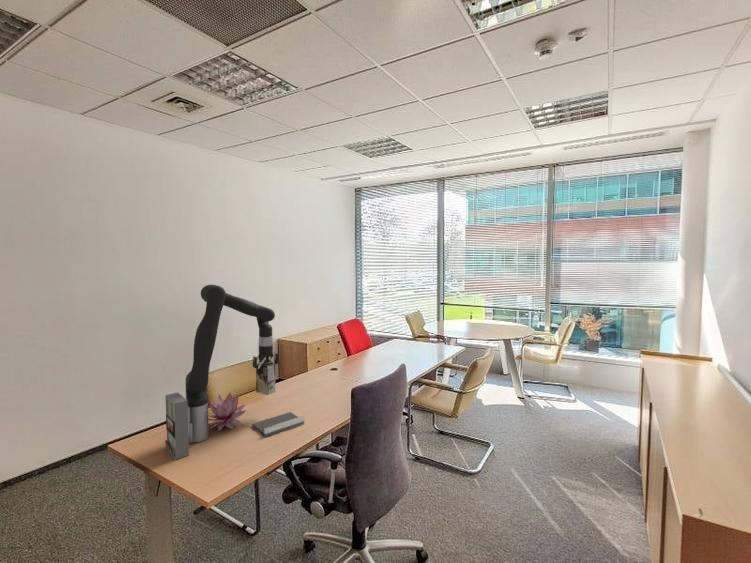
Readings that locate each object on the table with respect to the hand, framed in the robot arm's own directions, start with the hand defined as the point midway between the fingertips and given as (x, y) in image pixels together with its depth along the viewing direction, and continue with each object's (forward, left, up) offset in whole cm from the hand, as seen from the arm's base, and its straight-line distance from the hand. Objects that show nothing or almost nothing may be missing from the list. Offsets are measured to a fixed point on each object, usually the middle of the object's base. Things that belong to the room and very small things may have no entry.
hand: (265, 373), depth 201 cm
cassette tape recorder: (-47, -9, -24) cm, 54 cm away
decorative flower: (-22, +3, -24) cm, 33 cm away
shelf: (0, -15, -24) cm, 28 cm away
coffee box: (0, 0, -11) cm, 11 cm away
